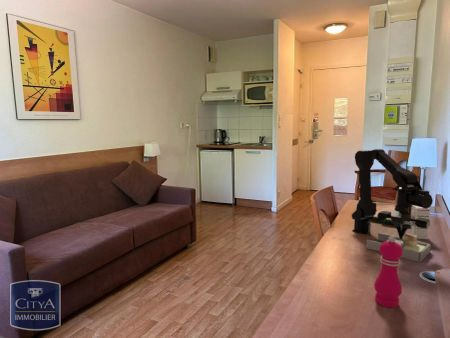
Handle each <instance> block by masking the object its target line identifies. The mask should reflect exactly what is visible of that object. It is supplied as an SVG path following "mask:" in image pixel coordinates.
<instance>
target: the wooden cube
mask: <svg viewBox="0 0 450 338" xmlns="http://www.w3.org/2000/svg"><path fill="white" fill-rule="evenodd" d="M417 241H418V238H417V235H412V234H411V233H408V232H407V233H405V235H404V236H403V245H406V246H410V247H415V246H416V245H417Z"/></svg>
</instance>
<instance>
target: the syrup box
mask: <svg viewBox="0 0 450 338" xmlns="http://www.w3.org/2000/svg"><path fill="white" fill-rule="evenodd" d="M412 208H413V212H412V218H413V219H418V218H419V217H420V218H426V219H429V220H430V216H431V208H430V207H429V208H427V209H425V208H421V207H418V206H414V205H412ZM429 229H430V226H429V227H427V228H420V227H417V226H416V225H415V224H414V225H412V226H411V227H410V234H412V235H417V240H419V239H420V240H428V239H429V233H430V232H429Z"/></svg>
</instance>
